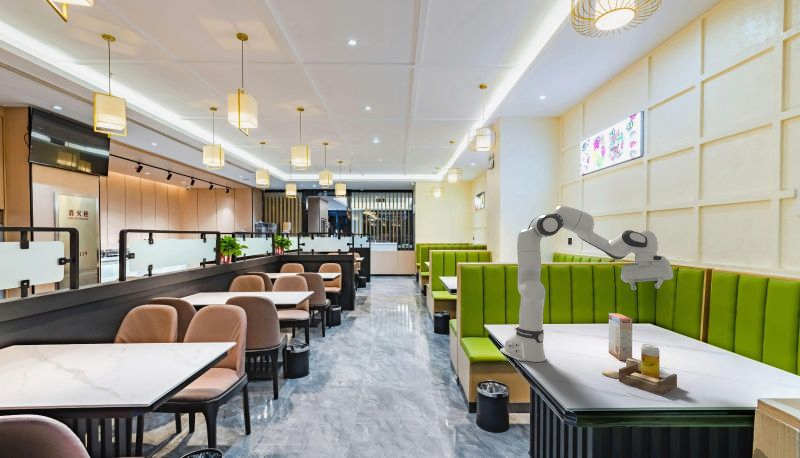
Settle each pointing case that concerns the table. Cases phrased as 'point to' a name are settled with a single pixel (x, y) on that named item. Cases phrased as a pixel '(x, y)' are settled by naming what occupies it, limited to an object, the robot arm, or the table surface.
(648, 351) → the beer glass
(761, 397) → the table surface
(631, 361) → the offcut top
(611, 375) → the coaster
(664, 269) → the robot arm
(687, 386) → the table surface
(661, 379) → the rack
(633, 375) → the offcut bottom
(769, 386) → the table surface
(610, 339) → the cracker box
